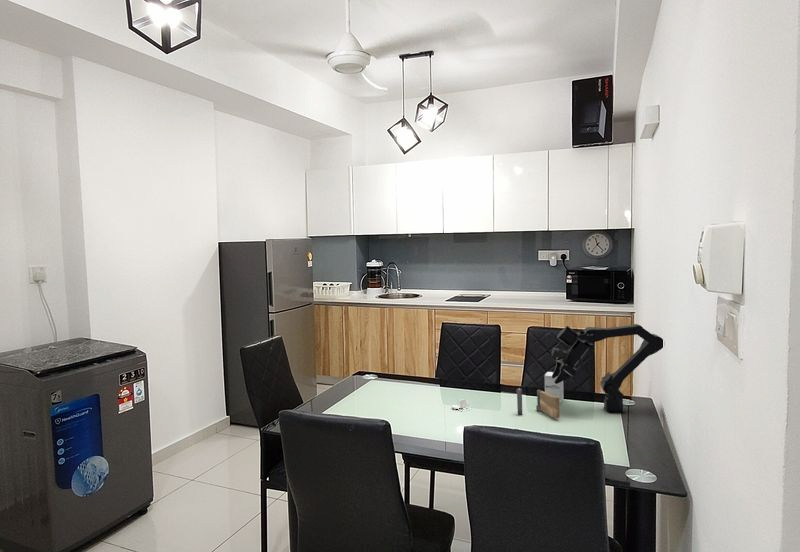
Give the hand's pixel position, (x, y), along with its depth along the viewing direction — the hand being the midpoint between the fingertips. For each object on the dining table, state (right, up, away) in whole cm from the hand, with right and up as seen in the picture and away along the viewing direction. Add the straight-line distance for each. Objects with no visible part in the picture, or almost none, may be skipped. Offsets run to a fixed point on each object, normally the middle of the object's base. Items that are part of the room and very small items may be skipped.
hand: (553, 380), depth 216 cm
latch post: (-16, -14, -3) cm, 21 cm away
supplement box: (+4, -12, +13) cm, 18 cm away
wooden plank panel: (-4, -12, -6) cm, 14 cm away
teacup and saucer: (-40, -15, +10) cm, 44 cm away
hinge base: (-6, -13, 0) cm, 15 cm away
